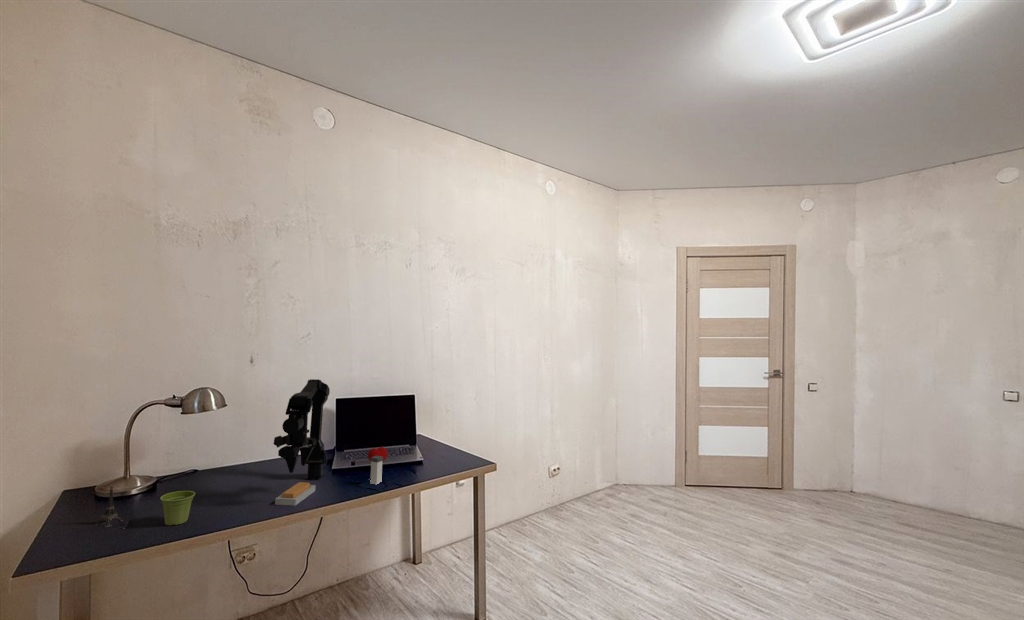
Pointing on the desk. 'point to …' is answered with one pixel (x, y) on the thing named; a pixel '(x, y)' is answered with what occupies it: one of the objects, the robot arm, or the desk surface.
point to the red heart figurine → (378, 453)
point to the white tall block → (376, 470)
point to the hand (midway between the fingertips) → (297, 469)
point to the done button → (295, 490)
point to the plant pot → (177, 506)
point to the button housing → (297, 499)
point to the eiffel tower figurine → (109, 512)
